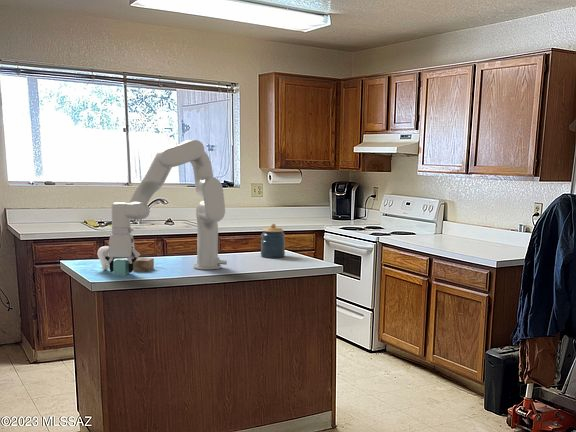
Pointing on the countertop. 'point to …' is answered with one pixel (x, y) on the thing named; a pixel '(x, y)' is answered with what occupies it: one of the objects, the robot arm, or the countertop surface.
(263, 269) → the countertop surface
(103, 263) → the light bulb
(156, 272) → the countertop surface
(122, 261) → the teal cube
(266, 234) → the canister
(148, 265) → the walnut block
